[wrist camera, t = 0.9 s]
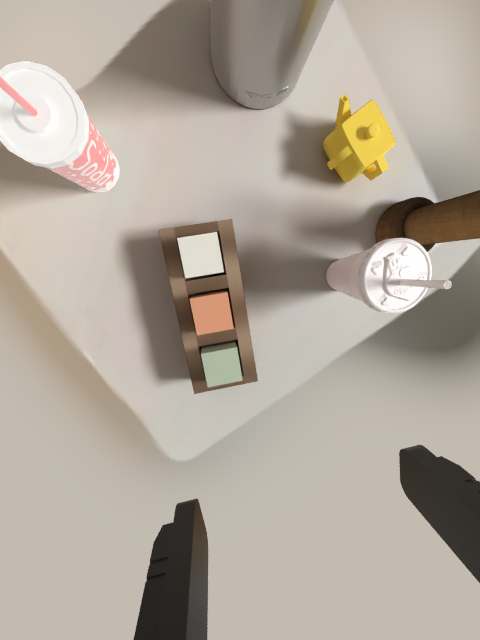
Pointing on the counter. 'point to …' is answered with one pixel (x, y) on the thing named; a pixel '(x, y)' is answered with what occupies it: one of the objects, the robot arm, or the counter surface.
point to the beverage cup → (52, 126)
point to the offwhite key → (200, 254)
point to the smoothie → (386, 275)
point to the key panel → (208, 284)
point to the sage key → (221, 363)
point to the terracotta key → (211, 312)
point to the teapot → (358, 141)
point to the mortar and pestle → (432, 220)
